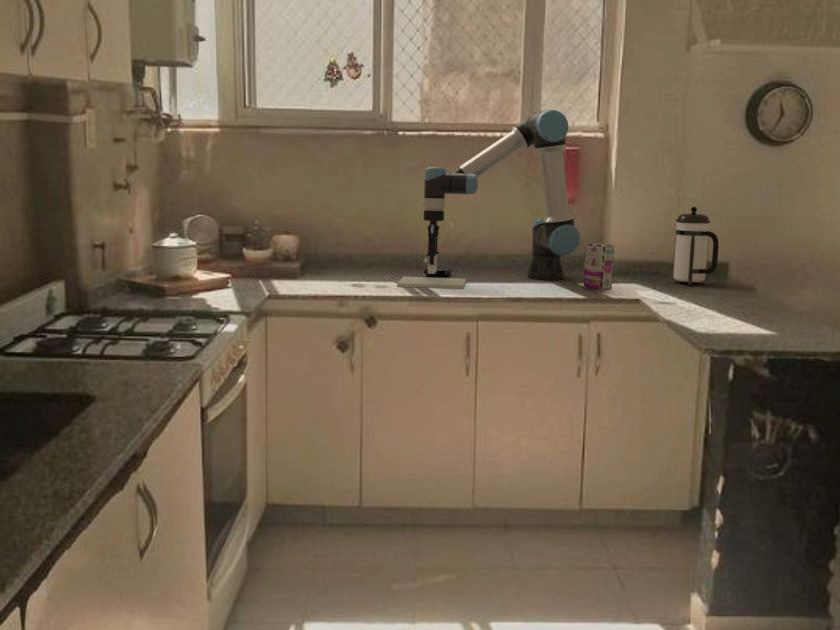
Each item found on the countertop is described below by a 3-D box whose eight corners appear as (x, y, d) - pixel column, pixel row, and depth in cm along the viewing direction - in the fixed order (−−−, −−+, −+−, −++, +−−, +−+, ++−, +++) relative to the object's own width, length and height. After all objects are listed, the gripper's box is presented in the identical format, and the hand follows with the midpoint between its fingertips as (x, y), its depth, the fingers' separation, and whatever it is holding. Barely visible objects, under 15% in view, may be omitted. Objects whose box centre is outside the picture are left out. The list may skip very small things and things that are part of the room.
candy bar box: (612, 290, 335) (615, 245, 332) (601, 290, 332) (604, 245, 330) (593, 286, 344) (595, 242, 342) (582, 286, 342) (584, 242, 339)
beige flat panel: (465, 281, 348) (465, 278, 348) (463, 288, 329) (463, 285, 329) (403, 279, 350) (403, 276, 350) (397, 286, 331) (397, 283, 331)
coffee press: (668, 285, 351) (673, 206, 346) (669, 280, 366) (674, 205, 361) (715, 288, 346) (721, 208, 341) (715, 283, 361) (720, 206, 356)
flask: (423, 268, 358) (431, 267, 368) (423, 276, 359) (431, 274, 369) (446, 270, 355) (453, 268, 366) (445, 277, 356) (453, 276, 366)
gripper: (426, 208, 345) (424, 269, 348) (421, 210, 326) (419, 275, 330) (445, 209, 344) (443, 270, 348) (442, 211, 325) (440, 276, 329)
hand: (432, 272), depth 339 cm, fingers open, 6 cm apart
